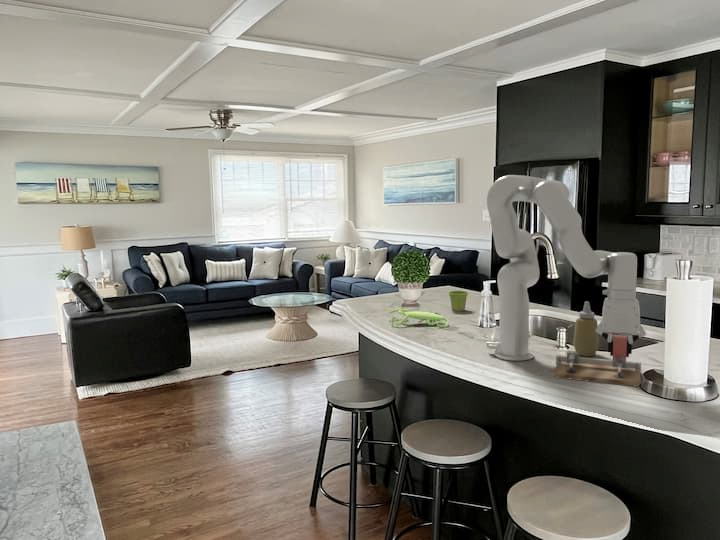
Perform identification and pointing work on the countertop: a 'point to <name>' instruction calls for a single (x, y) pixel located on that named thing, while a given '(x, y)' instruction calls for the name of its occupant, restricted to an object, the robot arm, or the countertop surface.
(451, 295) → the plant pot
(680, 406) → the countertop surface
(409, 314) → the figurine
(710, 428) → the countertop surface
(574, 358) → the trammel rail
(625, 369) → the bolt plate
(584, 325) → the squeeze bottle
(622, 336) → the sliding leg
